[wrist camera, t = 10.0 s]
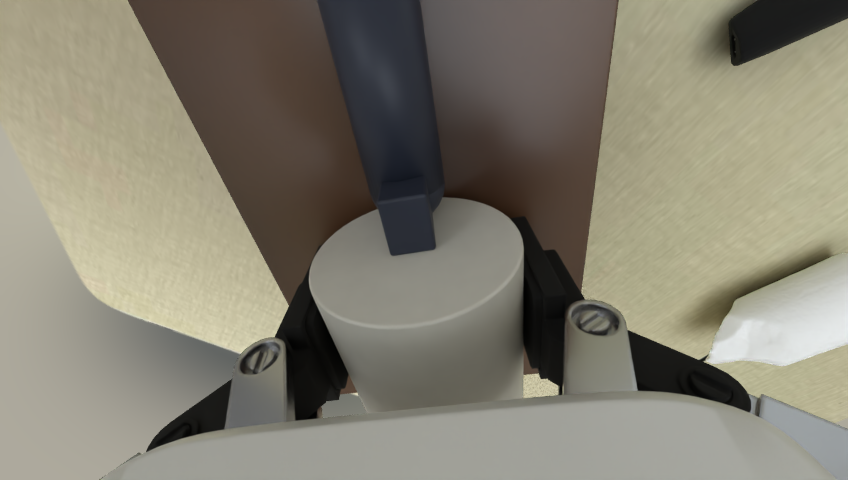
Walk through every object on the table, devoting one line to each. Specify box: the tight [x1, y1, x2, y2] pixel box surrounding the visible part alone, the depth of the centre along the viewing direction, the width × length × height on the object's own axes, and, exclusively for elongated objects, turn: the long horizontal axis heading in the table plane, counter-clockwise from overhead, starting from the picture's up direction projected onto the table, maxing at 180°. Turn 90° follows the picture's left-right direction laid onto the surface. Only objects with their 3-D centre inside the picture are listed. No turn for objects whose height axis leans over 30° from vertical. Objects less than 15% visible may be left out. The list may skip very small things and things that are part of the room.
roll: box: [706, 253, 848, 366], centre depth 27 cm, size 6×12×6 cm, turn 128°
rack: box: [128, 0, 619, 394], centre depth 17 cm, size 12×18×11 cm, turn 9°
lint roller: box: [309, 0, 524, 413], centre depth 9 cm, size 16×6×6 cm, turn 9°
